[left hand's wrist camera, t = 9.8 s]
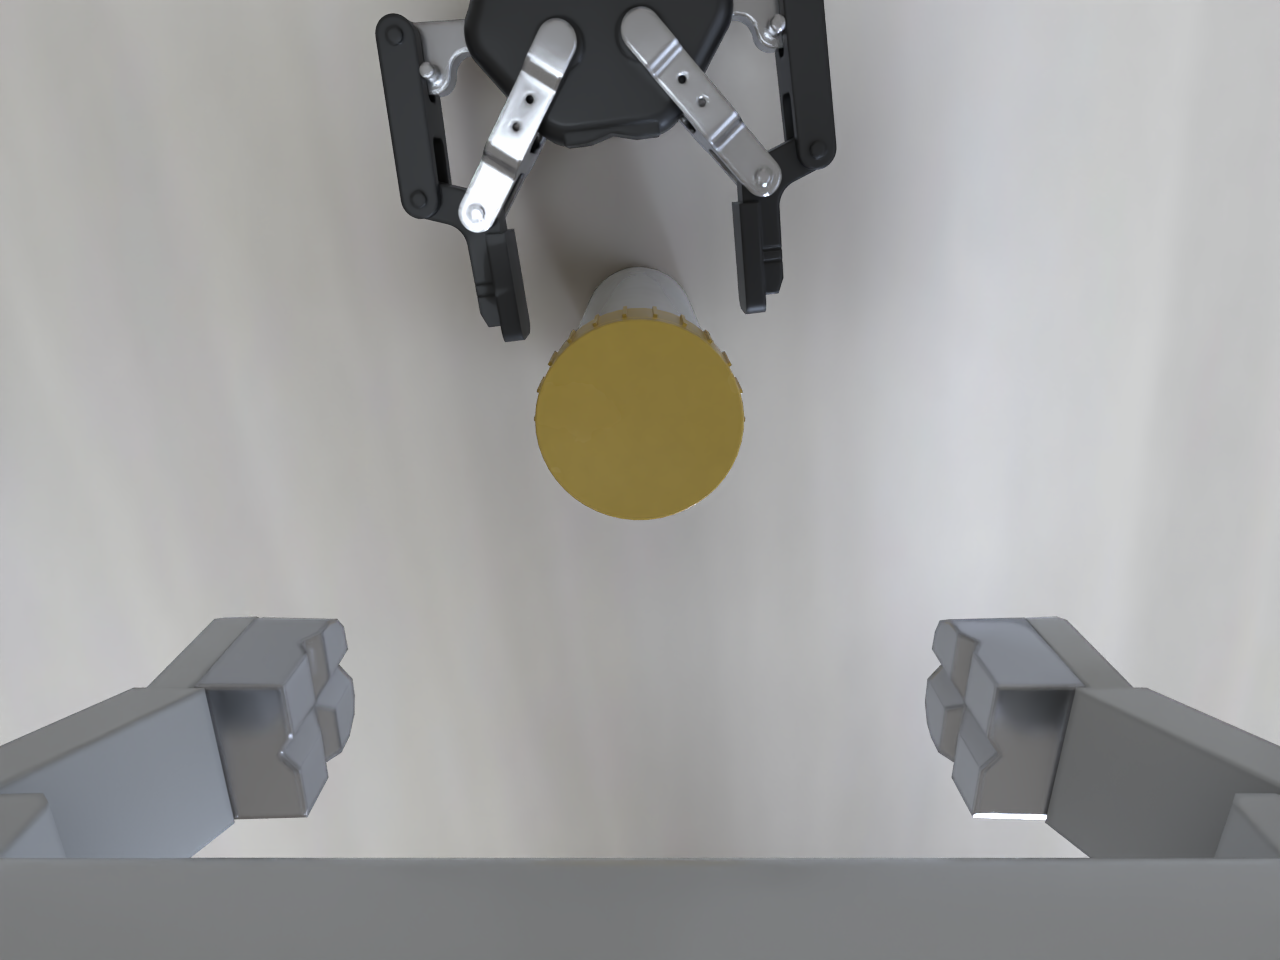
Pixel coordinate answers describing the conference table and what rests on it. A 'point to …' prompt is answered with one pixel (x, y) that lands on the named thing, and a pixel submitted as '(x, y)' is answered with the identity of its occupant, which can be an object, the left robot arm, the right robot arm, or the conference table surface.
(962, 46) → the conference table surface
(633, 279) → the jar
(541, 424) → the lid
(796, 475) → the conference table surface
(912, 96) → the conference table surface
